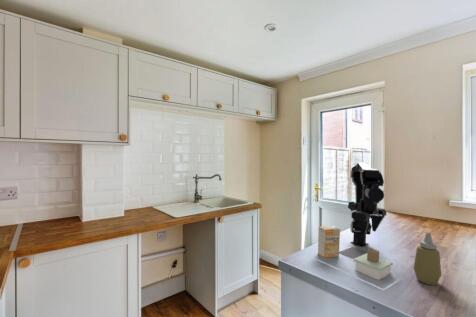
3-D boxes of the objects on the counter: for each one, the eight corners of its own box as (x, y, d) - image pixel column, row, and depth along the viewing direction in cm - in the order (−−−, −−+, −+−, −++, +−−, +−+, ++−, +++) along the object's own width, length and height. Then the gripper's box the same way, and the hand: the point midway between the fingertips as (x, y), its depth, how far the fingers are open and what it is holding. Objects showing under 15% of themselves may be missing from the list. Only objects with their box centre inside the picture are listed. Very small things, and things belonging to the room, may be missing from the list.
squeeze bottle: (428, 275, 92) (429, 229, 92) (447, 287, 84) (449, 236, 84) (407, 275, 92) (409, 229, 92) (424, 287, 84) (426, 236, 84)
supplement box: (323, 259, 105) (324, 229, 105) (317, 254, 110) (318, 226, 110) (339, 257, 107) (340, 228, 107) (332, 252, 112) (333, 225, 112)
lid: (366, 255, 101) (367, 243, 100) (392, 264, 92) (393, 252, 92) (353, 260, 95) (353, 248, 95) (380, 271, 87) (380, 258, 87)
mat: (352, 247, 119) (352, 246, 119) (379, 257, 108) (379, 256, 108) (336, 253, 111) (336, 252, 111) (364, 264, 101) (364, 263, 101)
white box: (367, 265, 100) (367, 255, 100) (390, 274, 92) (390, 264, 92) (355, 270, 95) (355, 261, 95) (379, 281, 87) (379, 270, 87)
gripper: (362, 193, 116) (361, 225, 117) (340, 196, 106) (339, 231, 106) (387, 197, 107) (386, 231, 107) (365, 200, 97) (364, 239, 97)
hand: (368, 233), depth 105 cm, fingers open, 9 cm apart
